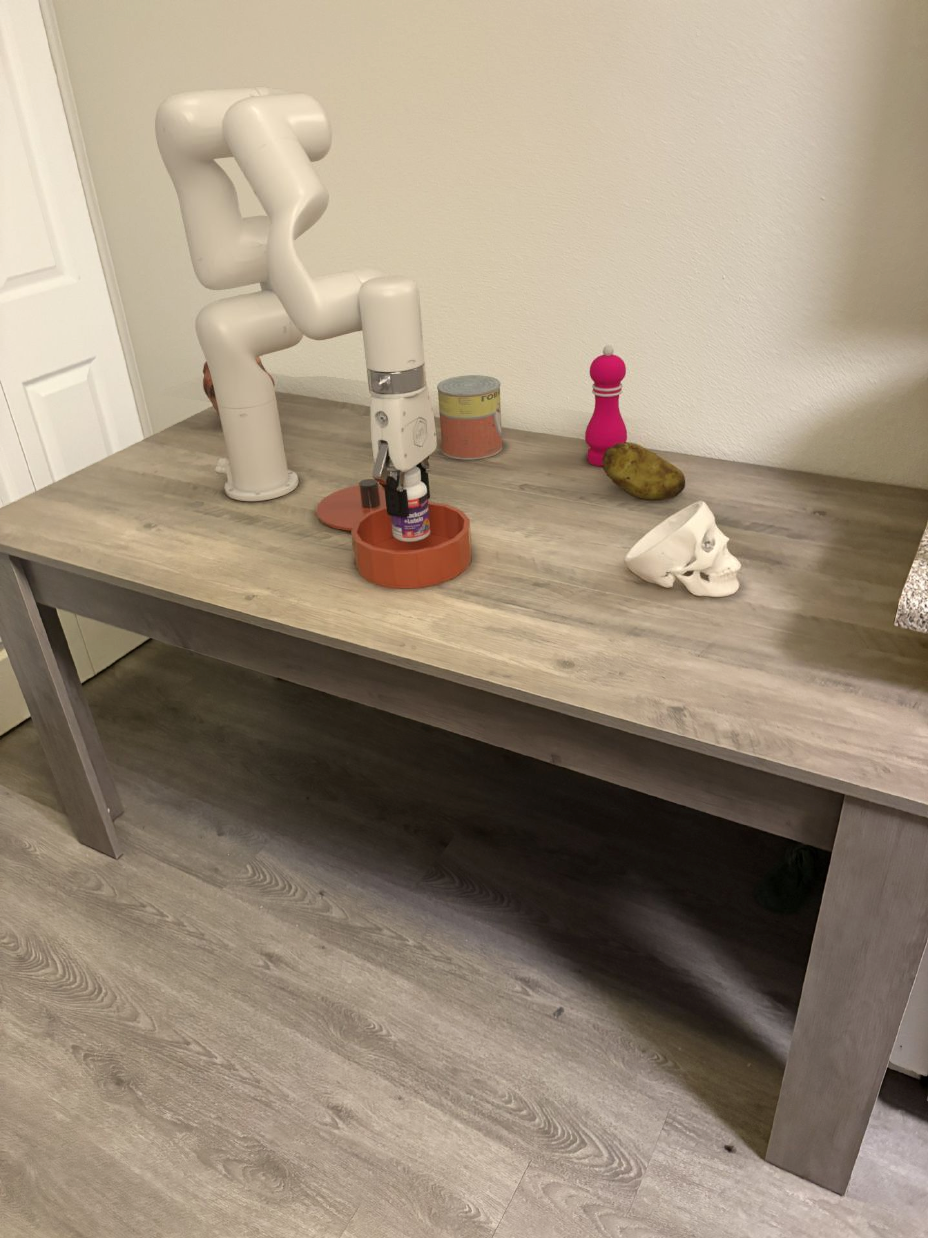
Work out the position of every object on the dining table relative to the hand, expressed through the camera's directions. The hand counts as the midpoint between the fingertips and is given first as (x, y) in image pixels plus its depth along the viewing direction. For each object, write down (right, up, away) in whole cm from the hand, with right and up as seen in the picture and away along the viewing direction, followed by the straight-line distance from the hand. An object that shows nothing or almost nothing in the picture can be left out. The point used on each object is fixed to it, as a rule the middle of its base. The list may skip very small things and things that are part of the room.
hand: (408, 505), depth 128 cm
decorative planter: (-38, +25, +61) cm, 76 cm away
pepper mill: (+33, +12, +33) cm, 48 cm away
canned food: (+9, +15, +41) cm, 45 cm away
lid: (-7, +2, +20) cm, 21 cm away
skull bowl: (+37, -11, -5) cm, 39 cm away
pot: (0, -7, +4) cm, 9 cm away
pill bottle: (0, -4, +2) cm, 5 cm away
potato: (+36, +4, +20) cm, 42 cm away
